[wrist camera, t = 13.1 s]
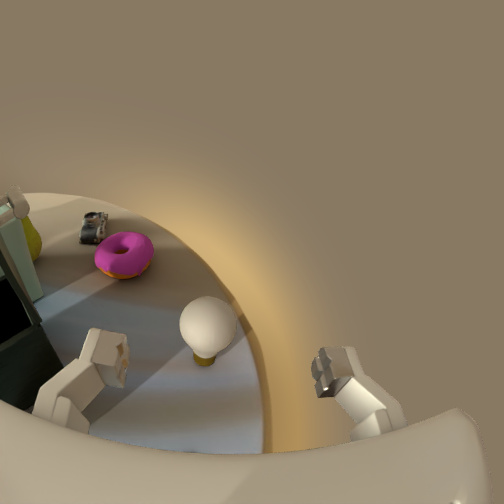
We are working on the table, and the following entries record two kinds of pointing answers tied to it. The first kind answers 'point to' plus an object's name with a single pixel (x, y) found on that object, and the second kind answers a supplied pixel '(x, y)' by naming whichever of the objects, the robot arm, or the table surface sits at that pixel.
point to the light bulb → (207, 328)
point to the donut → (124, 255)
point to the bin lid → (3, 257)
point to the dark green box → (22, 352)
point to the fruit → (32, 238)
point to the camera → (93, 227)
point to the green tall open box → (20, 254)
